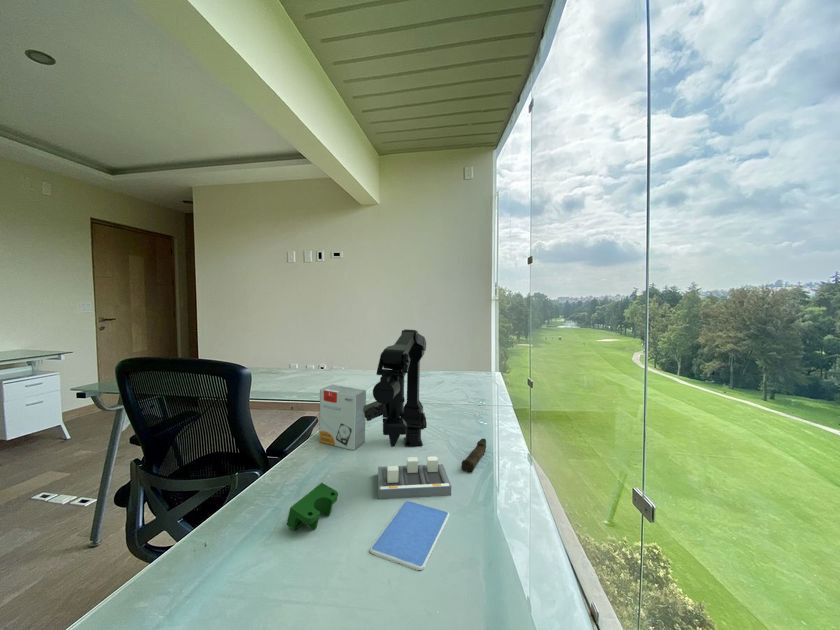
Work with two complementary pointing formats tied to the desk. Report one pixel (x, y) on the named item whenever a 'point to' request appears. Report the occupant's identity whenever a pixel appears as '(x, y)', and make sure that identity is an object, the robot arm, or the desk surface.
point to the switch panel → (414, 483)
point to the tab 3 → (432, 464)
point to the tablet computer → (411, 535)
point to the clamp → (312, 507)
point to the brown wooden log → (474, 456)
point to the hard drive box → (342, 416)
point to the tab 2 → (412, 465)
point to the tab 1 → (392, 474)
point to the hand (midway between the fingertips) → (392, 446)
